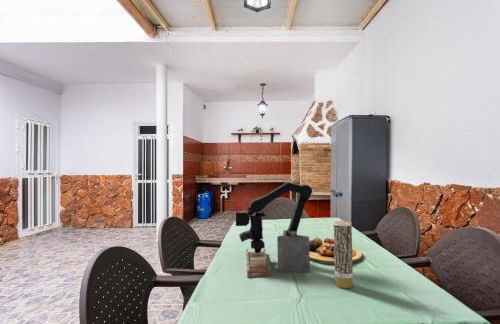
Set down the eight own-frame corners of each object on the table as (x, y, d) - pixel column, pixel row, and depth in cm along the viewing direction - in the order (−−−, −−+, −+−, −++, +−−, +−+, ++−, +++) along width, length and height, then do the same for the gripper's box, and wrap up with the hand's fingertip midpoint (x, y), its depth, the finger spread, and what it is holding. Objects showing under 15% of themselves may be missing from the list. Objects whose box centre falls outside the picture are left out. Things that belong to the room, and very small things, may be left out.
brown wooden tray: (246, 254, 149) (246, 247, 149) (265, 253, 149) (265, 246, 149) (247, 277, 119) (247, 268, 119) (271, 276, 119) (270, 268, 119)
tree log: (338, 280, 114) (337, 220, 114) (355, 284, 110) (353, 222, 110) (332, 286, 109) (330, 223, 109) (349, 290, 105) (347, 225, 105)
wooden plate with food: (368, 268, 127) (368, 250, 127) (299, 263, 134) (299, 246, 134) (357, 248, 158) (356, 233, 158) (301, 245, 165) (300, 231, 165)
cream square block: (250, 263, 132) (249, 253, 132) (264, 262, 132) (264, 252, 132) (250, 269, 125) (250, 258, 125) (266, 268, 125) (265, 257, 125)
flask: (278, 269, 127) (277, 230, 127) (309, 269, 126) (308, 230, 126) (278, 272, 124) (277, 232, 124) (310, 272, 122) (309, 232, 122)
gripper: (240, 221, 143) (240, 251, 143) (239, 230, 124) (240, 265, 124) (261, 221, 143) (262, 250, 143) (264, 230, 124) (265, 264, 124)
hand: (257, 257), depth 134 cm, fingers closed
